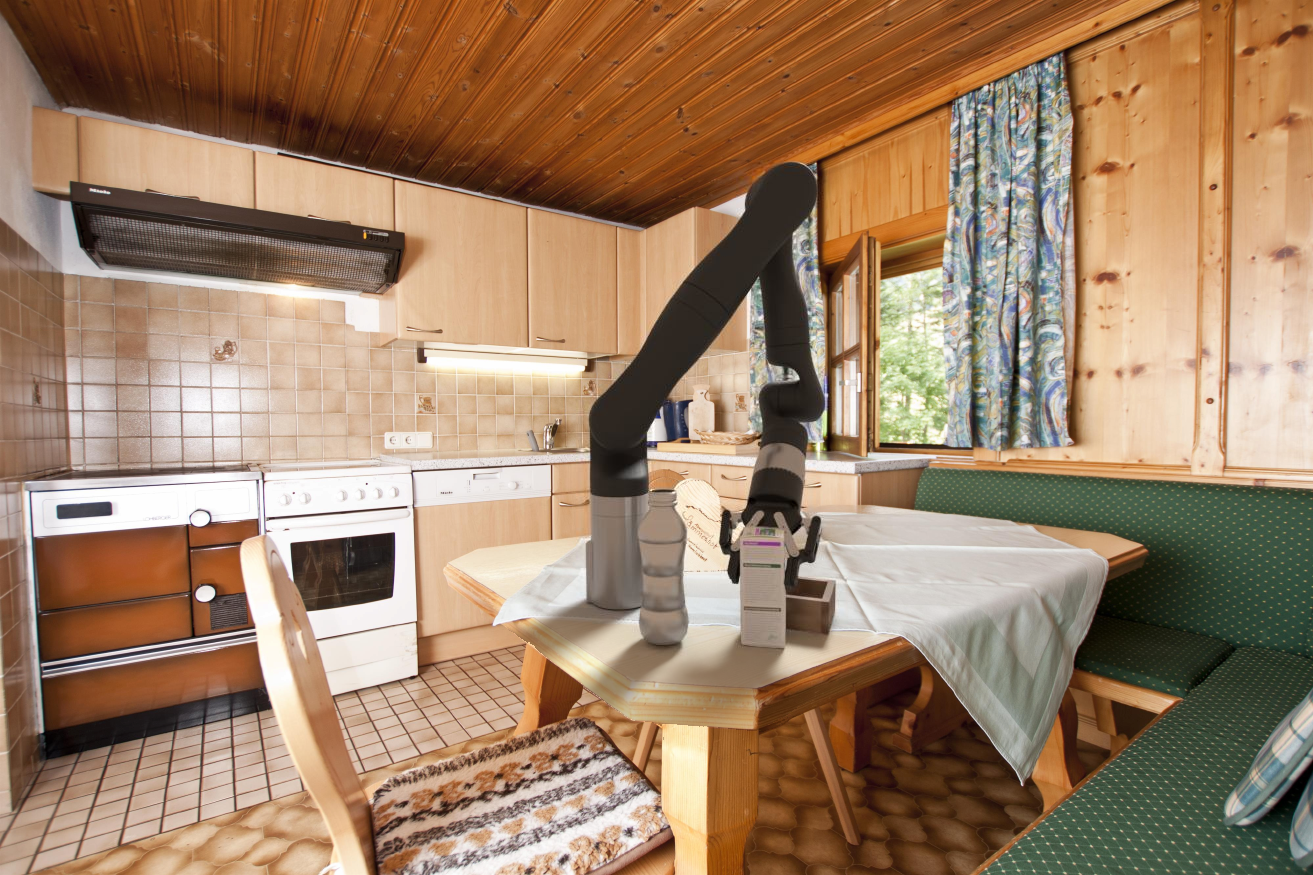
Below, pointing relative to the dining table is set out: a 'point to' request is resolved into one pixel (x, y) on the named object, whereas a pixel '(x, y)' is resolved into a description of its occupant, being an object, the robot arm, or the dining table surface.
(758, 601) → the syrup box
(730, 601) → the dining table surface
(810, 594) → the walnut sleeve
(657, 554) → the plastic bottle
